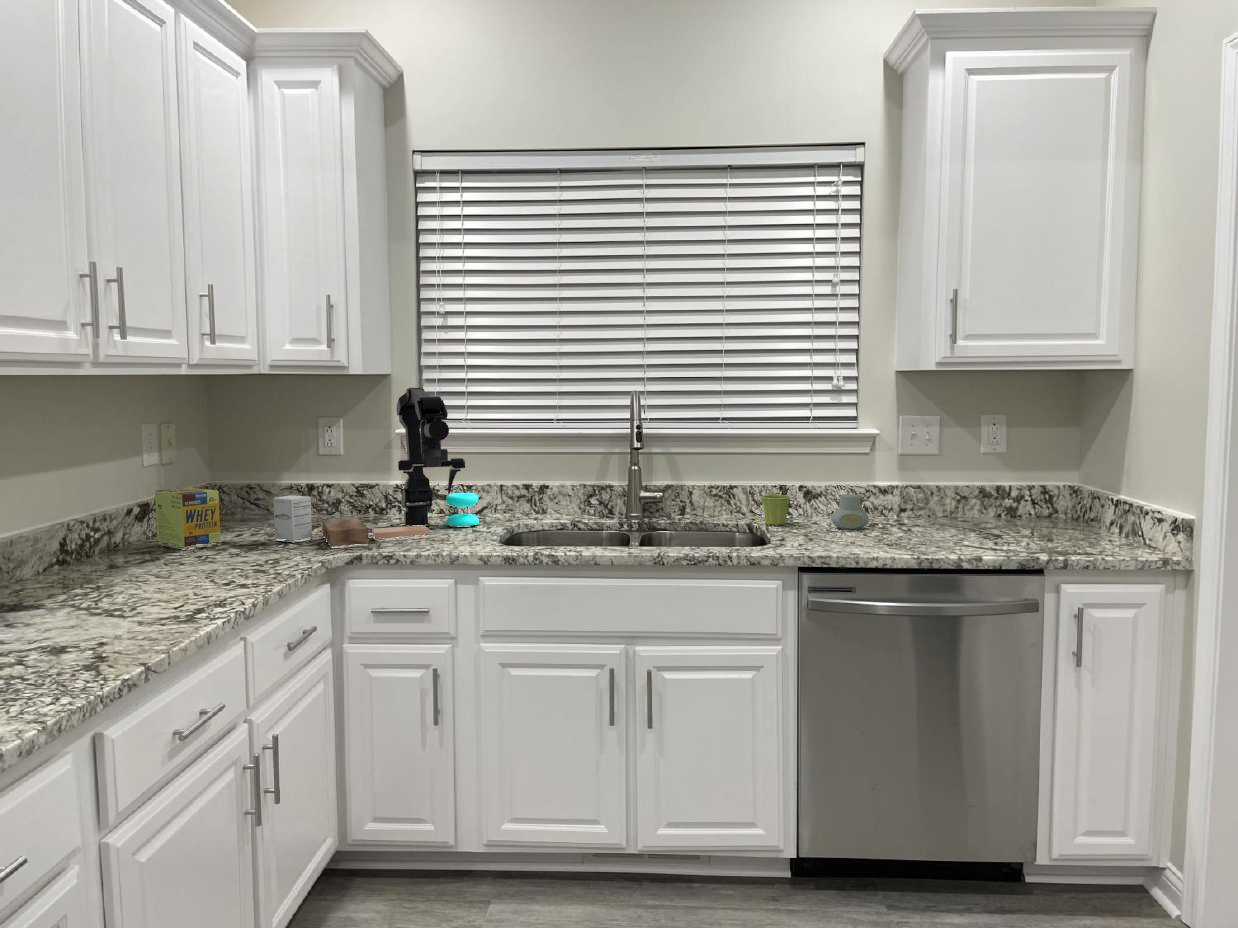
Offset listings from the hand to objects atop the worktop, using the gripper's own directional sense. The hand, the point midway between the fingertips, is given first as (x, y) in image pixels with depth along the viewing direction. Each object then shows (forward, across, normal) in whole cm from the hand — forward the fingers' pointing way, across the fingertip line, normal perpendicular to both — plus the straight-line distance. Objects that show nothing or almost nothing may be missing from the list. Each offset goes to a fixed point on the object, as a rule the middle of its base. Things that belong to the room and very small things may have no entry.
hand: (432, 494), depth 258 cm
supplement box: (+12, -39, +6) cm, 41 cm away
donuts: (+12, +10, +18) cm, 24 cm away
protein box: (+12, -66, +6) cm, 68 cm away
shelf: (+12, -25, -1) cm, 28 cm away
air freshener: (+14, +121, -21) cm, 124 cm away
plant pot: (+14, +103, -6) cm, 104 cm away
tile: (+13, -9, +2) cm, 16 cm away
